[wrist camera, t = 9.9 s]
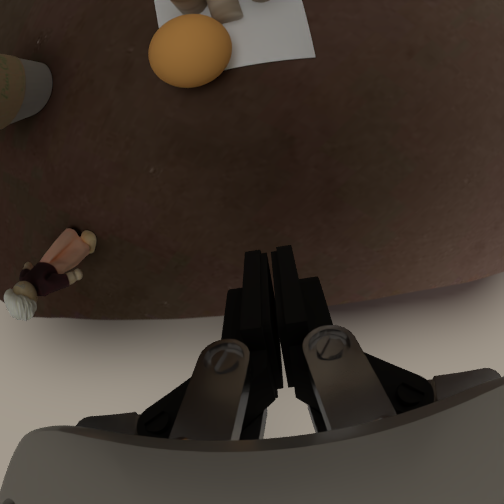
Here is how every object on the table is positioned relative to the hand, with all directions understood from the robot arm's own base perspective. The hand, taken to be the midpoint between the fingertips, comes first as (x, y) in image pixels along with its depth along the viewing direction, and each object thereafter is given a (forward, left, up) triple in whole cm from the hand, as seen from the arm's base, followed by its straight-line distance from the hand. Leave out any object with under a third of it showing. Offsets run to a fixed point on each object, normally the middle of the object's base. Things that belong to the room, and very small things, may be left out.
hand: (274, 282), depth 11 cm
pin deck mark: (0, -15, -15) cm, 21 cm away
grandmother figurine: (+21, +2, -15) cm, 26 cm away
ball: (+3, -12, -12) cm, 17 cm away
